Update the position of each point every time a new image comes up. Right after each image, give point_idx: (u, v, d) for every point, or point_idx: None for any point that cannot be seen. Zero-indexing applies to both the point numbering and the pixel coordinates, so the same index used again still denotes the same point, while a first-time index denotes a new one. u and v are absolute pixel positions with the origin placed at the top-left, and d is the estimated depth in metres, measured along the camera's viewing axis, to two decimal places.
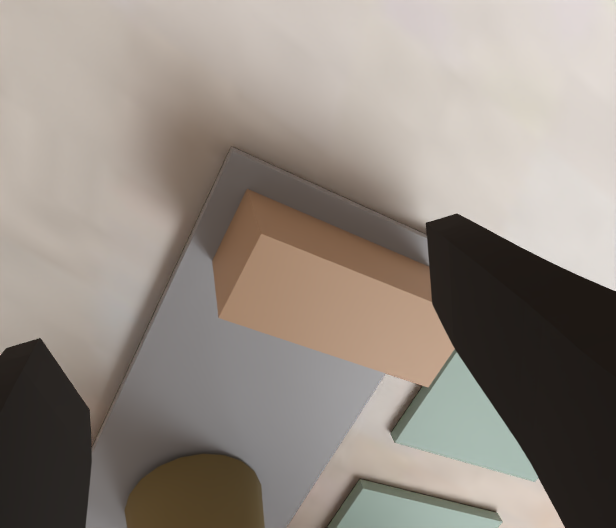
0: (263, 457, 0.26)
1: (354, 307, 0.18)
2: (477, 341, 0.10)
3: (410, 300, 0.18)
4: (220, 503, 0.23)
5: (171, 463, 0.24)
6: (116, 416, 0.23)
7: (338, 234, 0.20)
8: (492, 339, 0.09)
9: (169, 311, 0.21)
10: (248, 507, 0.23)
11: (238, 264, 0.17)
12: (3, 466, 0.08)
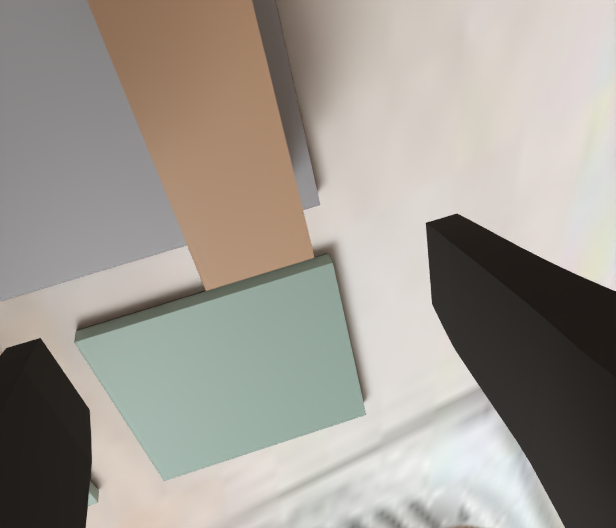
0: None
1: (229, 127, 0.13)
2: (477, 341, 0.10)
3: (285, 177, 0.14)
4: None
5: None
6: None
7: None
8: (492, 339, 0.09)
9: None
10: None
11: None
12: (3, 466, 0.08)
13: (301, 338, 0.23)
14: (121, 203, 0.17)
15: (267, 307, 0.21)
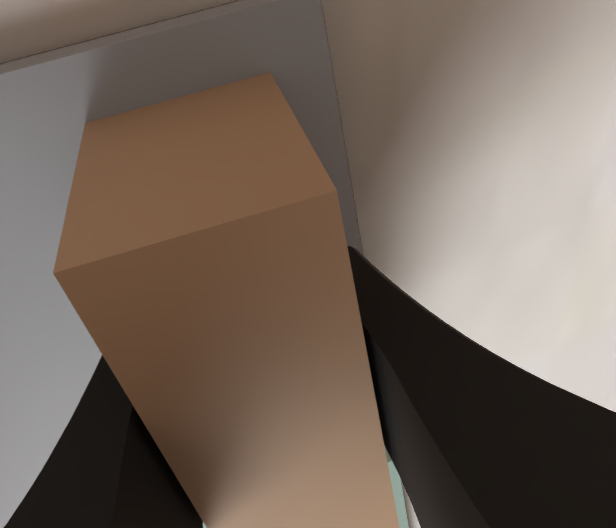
0: None
1: (302, 439, 0.08)
2: None
3: (377, 479, 0.09)
4: None
5: None
6: None
7: None
8: None
9: None
10: None
11: (201, 196, 0.06)
12: None
13: None
14: None
15: None
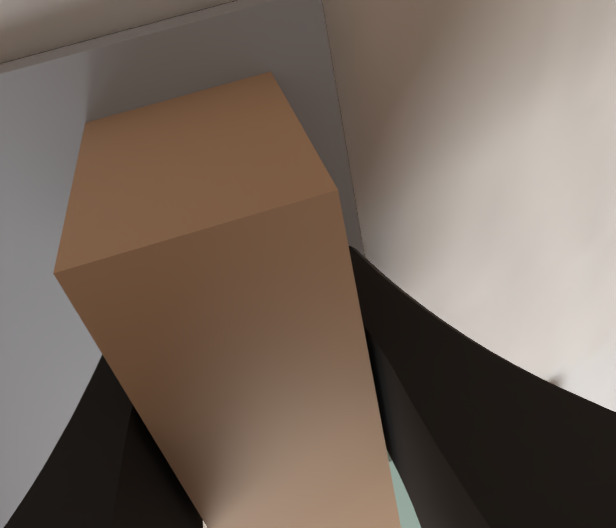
0: None
1: (303, 439, 0.08)
2: None
3: (378, 479, 0.09)
4: None
5: None
6: None
7: None
8: None
9: None
10: None
11: (201, 197, 0.06)
12: None
13: None
14: None
15: None
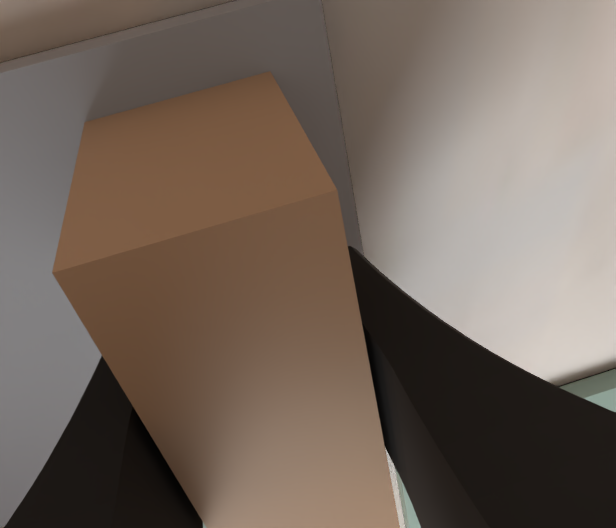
0: None
1: (302, 438, 0.08)
2: None
3: (377, 479, 0.09)
4: None
5: None
6: None
7: None
8: None
9: None
10: None
11: (200, 196, 0.06)
12: None
13: None
14: None
15: (614, 410, 0.17)
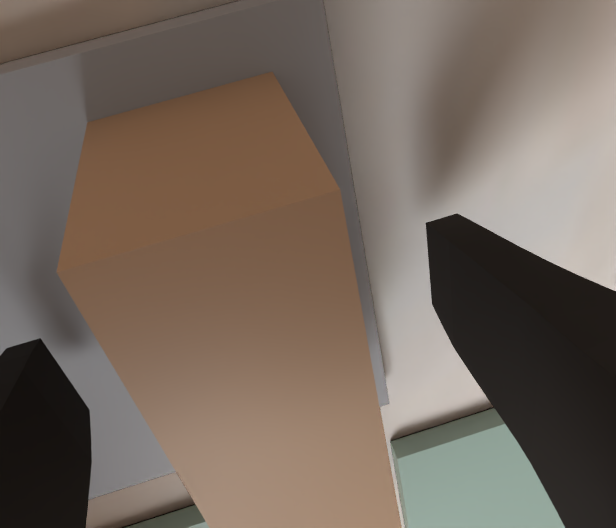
0: None
1: (304, 438, 0.08)
2: (477, 341, 0.10)
3: (379, 478, 0.09)
4: None
5: None
6: None
7: None
8: (492, 339, 0.09)
9: None
10: None
11: (204, 195, 0.06)
12: (3, 466, 0.08)
13: None
14: (131, 425, 0.13)
15: None
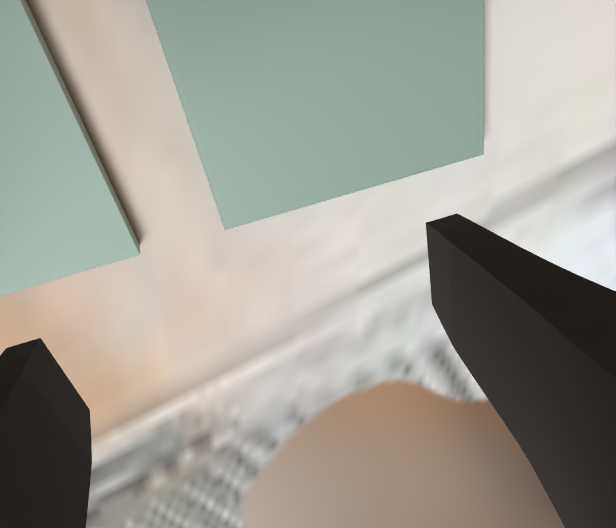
0: None
1: None
2: (477, 341, 0.10)
3: None
4: None
5: None
6: None
7: None
8: (492, 339, 0.09)
9: None
10: None
11: None
12: (3, 466, 0.08)
13: None
14: None
15: None
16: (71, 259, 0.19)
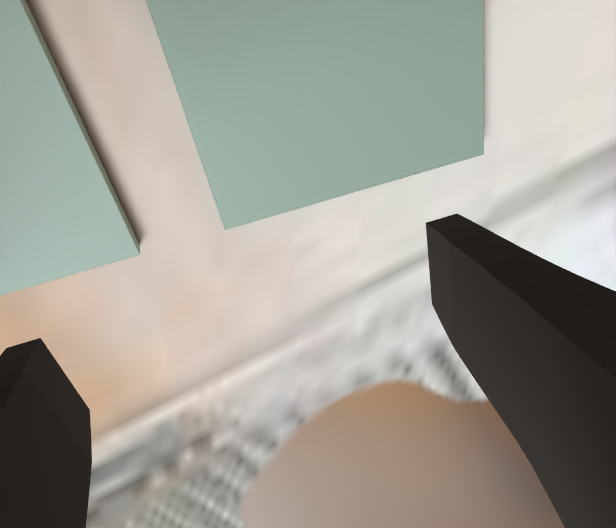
0: None
1: None
2: (477, 341, 0.10)
3: None
4: None
5: None
6: None
7: None
8: (492, 339, 0.09)
9: None
10: None
11: None
12: (3, 466, 0.08)
13: None
14: None
15: None
16: (71, 259, 0.19)
